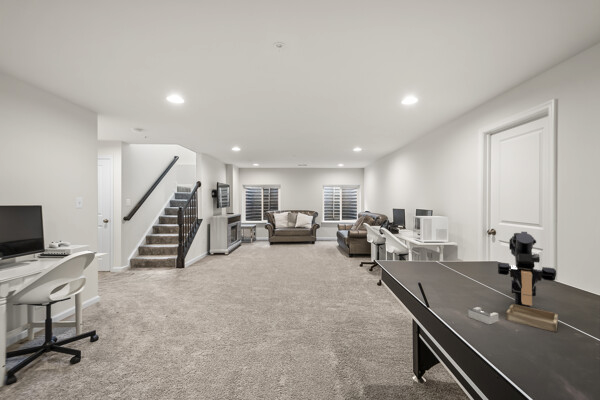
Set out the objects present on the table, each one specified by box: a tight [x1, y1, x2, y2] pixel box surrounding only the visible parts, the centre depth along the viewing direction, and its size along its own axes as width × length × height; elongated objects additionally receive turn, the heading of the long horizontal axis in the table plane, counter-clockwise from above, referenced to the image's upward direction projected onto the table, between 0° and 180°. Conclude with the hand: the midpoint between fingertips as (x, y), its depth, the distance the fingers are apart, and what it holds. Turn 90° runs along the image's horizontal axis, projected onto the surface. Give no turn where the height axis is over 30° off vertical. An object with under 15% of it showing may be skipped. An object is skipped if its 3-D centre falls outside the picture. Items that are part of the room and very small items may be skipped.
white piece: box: [468, 306, 500, 325], centre depth 111 cm, size 8×8×4 cm
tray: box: [505, 303, 559, 333], centre depth 110 cm, size 15×15×3 cm
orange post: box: [521, 270, 533, 307], centre depth 109 cm, size 4×3×13 cm, turn 144°
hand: (526, 288), depth 108 cm, fingers closed on orange post, 3 cm apart
